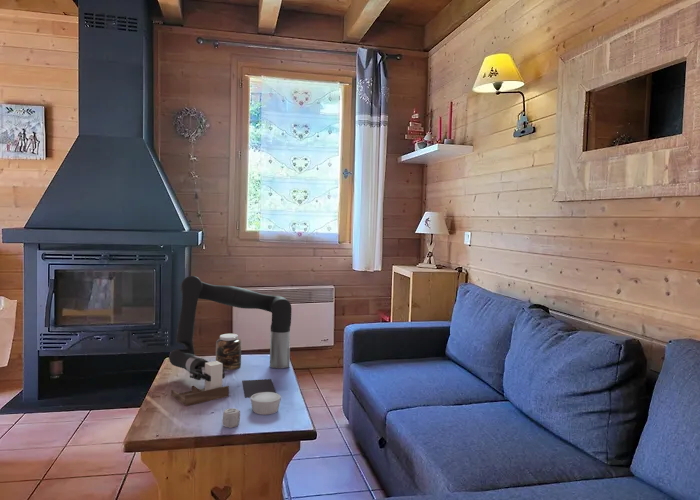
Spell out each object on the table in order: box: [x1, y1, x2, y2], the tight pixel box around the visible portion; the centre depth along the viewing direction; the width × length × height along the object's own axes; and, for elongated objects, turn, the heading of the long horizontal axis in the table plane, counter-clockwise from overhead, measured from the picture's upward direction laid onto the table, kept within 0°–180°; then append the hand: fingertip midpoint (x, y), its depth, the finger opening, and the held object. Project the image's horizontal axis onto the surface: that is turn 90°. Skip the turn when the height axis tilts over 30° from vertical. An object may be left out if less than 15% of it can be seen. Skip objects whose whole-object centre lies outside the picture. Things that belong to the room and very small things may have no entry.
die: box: [221, 407, 241, 429], centre depth 177 cm, size 5×5×5 cm
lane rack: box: [170, 385, 230, 407], centre depth 201 cm, size 14×17×5 cm
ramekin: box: [250, 392, 282, 416], centre depth 191 cm, size 11×11×5 cm
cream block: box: [204, 360, 223, 391], centre depth 202 cm, size 5×5×12 cm
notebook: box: [241, 378, 277, 399], centre depth 213 cm, size 13×2×21 cm
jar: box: [215, 333, 242, 371], centre depth 243 cm, size 12×12×15 cm
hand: (216, 377), depth 200 cm, fingers closed on cream block, 5 cm apart
